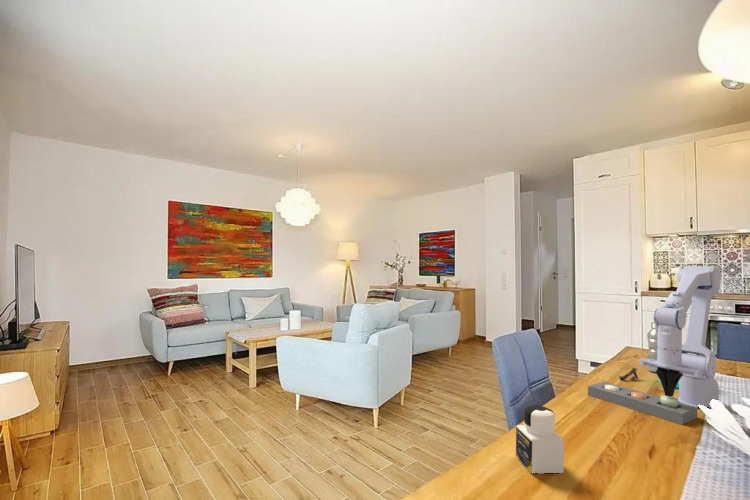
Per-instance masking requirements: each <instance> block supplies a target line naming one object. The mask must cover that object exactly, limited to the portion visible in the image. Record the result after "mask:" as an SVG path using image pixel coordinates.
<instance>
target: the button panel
mask: <svg viewBox="0 0 750 500" xmlns="http://www.w3.org/2000/svg"><path fill="white" fill-rule="evenodd" d="M605 385H614V386H617V387H619V391H616V392H615V391H612V390H608V389H605ZM631 392H638V393H643V394H645V395H647V399H645V400H643V399H639V398H636V397H632V396H631ZM587 395H588V396H590V397H593V398H597V399H599V400H602V401H604V402H609V403H612V404H615V405H619V406H622V407H623V408H624V407H625V408H628V409H631V410H634V411H637V412H640V413H643V414H646V415H649V416H653V417H656V418H658V419H663V420H666V421H669V422H671V423H675V424H679V425H681V426H682V425H685V424H687V423H690V422H691V421H692V422H693V421H694V420H697V419H698V409H699V408H698V407H694V406H691V405H687V404H683V403H681V402H678V408H677V409H674V408H670V407H667V406H663V405H661V396H658V395H654V394H650V393H646V392H643V391H640V390H636V389H633V388H629V387H625V386H622V385H619V384H614V383H611V382H606V381H601V382H598V383H594V384H590V385H588V386H587Z"/></svg>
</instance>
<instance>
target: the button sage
mask: <svg viewBox="0 0 750 500" xmlns="http://www.w3.org/2000/svg"><path fill="white" fill-rule="evenodd" d="M660 397H661V405H663V406H667V407H670V408H674V409H677V408H678V399H677V398H675V397H676V396H671V397H670V396H666V395H665V394H663V395H660Z"/></svg>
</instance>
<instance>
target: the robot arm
mask: <svg viewBox="0 0 750 500" xmlns="http://www.w3.org/2000/svg"><path fill="white" fill-rule="evenodd" d="M676 275H677V280H678V282H679V283H678V286H677V287H676V288H677V289H676V291H672V292H671V293H670V294H668V297H667V298H666V299H665V302H664V303H663V305H662V306H660V307H658V308H655V310H654V313H653V323H655V330H656V331H657V360H654V359H648V357H641V358H640V359H639V365H640V366H646V367H647V366H651V367H656V368H657V370H656V372H655V373H656V376H657V377H658V378H659V379H660V381H661V383H662V384H661V383H660V384H661V385H662V388H663V393H664V395H666V396H670V397H671V396H672V397H675V398H677V399H678V402H680V403H683V404H687V405H691V406H694V407H698V405H699V404H700V405H704V406H706V407H709V408H708V409H711V408H710V405H709V403H710V401H711V400H712V399H715V400H719V401H720V399H719V398H720V388H719V387H720V386H719V382H718V381H717V380H716V379H715V378H714V376H715V375H716V372H717V363H716V362H717V361H716V360H717V359H716V358H717V357H716V354H715V352H713V351H712V350H711V349H709V348H708V347H707V346H706V342H707V334H708V333H707V332H708V329H709V328H708V326H709V319H710V312H711V302H712V298H713V296H716V295H717V294H720V293H719V292H720V290H721V289H720V288H721V283H722V275H721V270H720V268H719V267H718V266H717V265H713V266H712V265H711V266H707V265H706V266H705V265H704V266H703V265H701V266H700V265H681V266H679V268H678V270H677V274H676ZM689 309H690V310H689ZM688 311H689V316H688V314H687V312H688ZM688 317H689V318H688ZM687 318H688V325H687V332H686V338H685V339H686V340H685V342H684V343H683V329H684V328H685V327H686V324H687ZM659 379H658V380H659ZM678 381H679V389H678V397H677V396H674V393H675V390H676V389H677V388H676V385H677V383H678Z"/></svg>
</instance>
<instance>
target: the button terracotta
mask: <svg viewBox="0 0 750 500" xmlns="http://www.w3.org/2000/svg"><path fill="white" fill-rule="evenodd" d="M631 396H632V397H636V398H639V399H643V400H645V399H647V395H645V394H643V393H638V392H631Z"/></svg>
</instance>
